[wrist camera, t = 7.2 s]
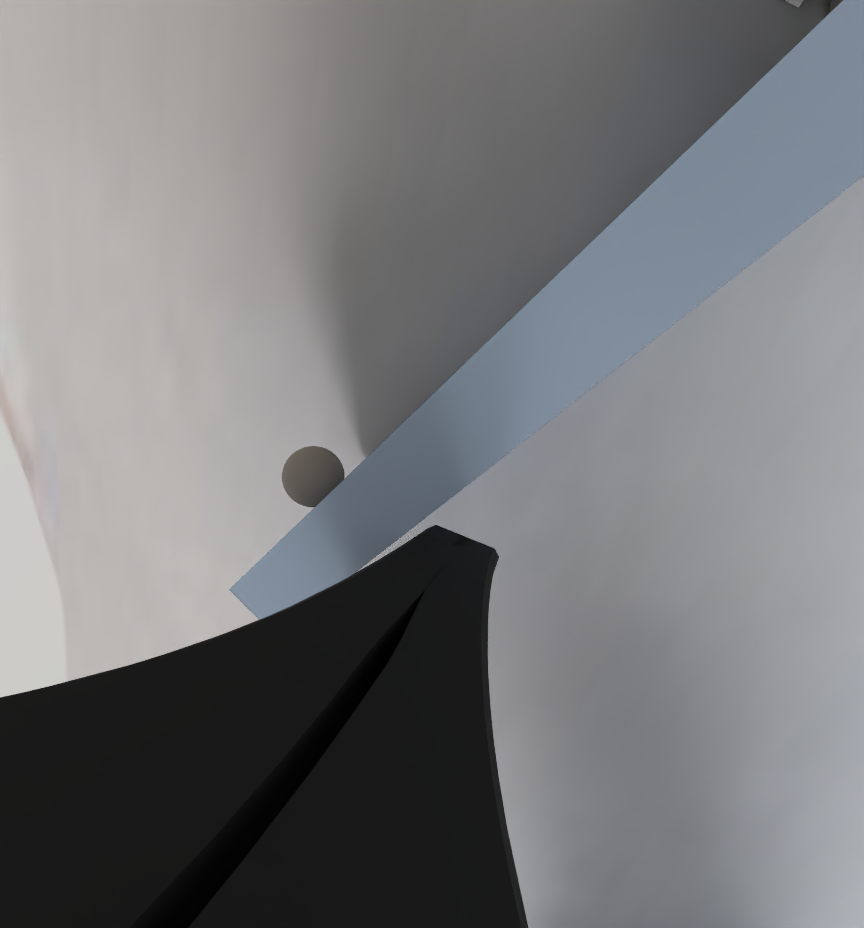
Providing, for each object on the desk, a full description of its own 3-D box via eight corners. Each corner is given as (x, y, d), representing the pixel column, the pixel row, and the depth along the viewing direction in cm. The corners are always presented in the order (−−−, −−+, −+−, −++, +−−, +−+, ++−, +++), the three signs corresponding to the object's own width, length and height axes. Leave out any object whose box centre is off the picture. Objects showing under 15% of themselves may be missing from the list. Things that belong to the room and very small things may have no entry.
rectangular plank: (748, 1, 8) (857, -233, 4) (844, 119, 8) (1056, 25, 4) (330, 441, 14) (186, 546, 10) (390, 504, 14) (274, 635, 10)
